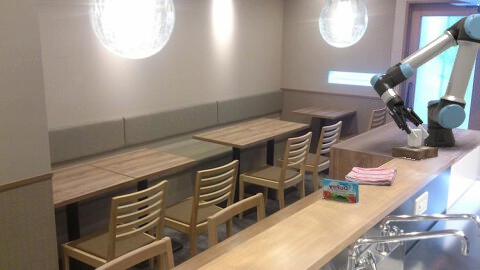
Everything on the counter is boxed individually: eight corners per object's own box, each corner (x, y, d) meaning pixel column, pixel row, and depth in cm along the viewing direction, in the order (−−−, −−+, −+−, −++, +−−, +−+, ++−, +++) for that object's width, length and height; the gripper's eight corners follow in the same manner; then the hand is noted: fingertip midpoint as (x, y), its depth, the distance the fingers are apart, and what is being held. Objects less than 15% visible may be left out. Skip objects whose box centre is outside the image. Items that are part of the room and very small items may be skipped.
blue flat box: (323, 197, 154) (322, 179, 153) (325, 196, 155) (325, 178, 154) (356, 203, 146) (356, 183, 145) (358, 201, 147) (358, 182, 146)
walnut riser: (412, 152, 221) (412, 144, 221) (437, 156, 209) (437, 147, 209) (391, 156, 215) (391, 147, 214) (416, 160, 202) (416, 151, 202)
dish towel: (343, 184, 170) (343, 175, 170) (354, 171, 191) (354, 162, 191) (391, 187, 163) (391, 178, 163) (397, 173, 184) (397, 164, 184)
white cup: (420, 146, 206) (420, 130, 205) (404, 145, 211) (404, 130, 210) (424, 144, 212) (424, 128, 211) (409, 143, 216) (409, 128, 215)
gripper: (402, 104, 227) (430, 140, 215) (373, 107, 217) (401, 145, 205) (411, 93, 221) (440, 130, 210) (382, 96, 212) (410, 135, 200)
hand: (421, 137), depth 208 cm, fingers closed on white cup, 7 cm apart
